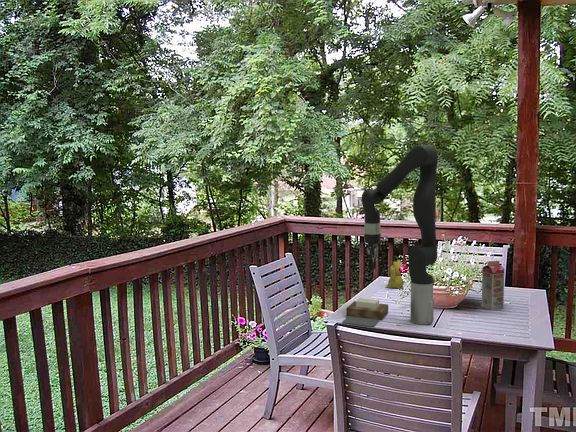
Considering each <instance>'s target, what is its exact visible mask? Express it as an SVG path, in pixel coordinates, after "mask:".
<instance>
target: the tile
mask: <svg viewBox="0 0 576 432" xmlns="http://www.w3.org/2000/svg"><path fill="white" fill-rule="evenodd" d="M355 301H356V307H362V308H371V309H376V308H377V307H378V306H379V304H380V299H374V298H373V299H372V298H364V297H363V298H361V297H360V298H358V299H357V300H355Z"/></svg>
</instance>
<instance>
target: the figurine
mask: <svg viewBox="0 0 576 432" xmlns="http://www.w3.org/2000/svg"><path fill="white" fill-rule="evenodd" d="M392 263H393V264H392V265H391V266H390V268H389V272H390V274H389V276H390V277H389V279H388V281H387V283H388V284H386V288H387V289H388V288H389V289H400V288H402V287H403V286H404V284H405V281H403V279H402V278H401V274H400V272H399V268H400V266H402V265H403V264H402V261H401V260H400V259H397V261H393V262H392Z"/></svg>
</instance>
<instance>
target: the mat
mask: <svg viewBox="0 0 576 432" xmlns="http://www.w3.org/2000/svg"><path fill="white" fill-rule="evenodd" d="M379 321H380V320H379V319H371V318H362V317H353V316H348V317H347V316H346V318H345V319H344V320H342V321H341V324H342V323H343V325H350V326H351V325H352V326H358V327H359V326H360V327H367V328H375V327H376V326H377V324H378V323H379Z"/></svg>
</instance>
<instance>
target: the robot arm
mask: <svg viewBox="0 0 576 432" xmlns="http://www.w3.org/2000/svg"><path fill="white" fill-rule="evenodd" d="M438 154H439V153H438V150H437V148H436V147H435V146H434V145H432V144H416V145H414V146H413V147H412V148H411V149H410V150H409V151H408V152H407V154H406V155H405V156H404V157H403V158H402V160H400V162H399V163H397V165H396V166H395V167H394V168H393V169H392V170H390V172H389V173H387V174H386V175H385V176H384V177H382V178H381V179H380V180H379V181H378V182H377V184H376V187H375V188H372V189H370V188H369V189H365V190H364V191H363V192H362V194H361V205H362V209H363V213H364V226H363V227H364V228H363V243H365V244H367V248H366V250H365V254H366V262H367V263H368V271H371V272H373V271H374V270H375V269H376V268H377V260H378V256H379V249H380V246H377V245H378V244H381V241H382V240H381V239H382V237H381V236H382V235H381V233H382V228H381V212H380V211H379V210H377V209H376V205H379V204H380V203H382V202H383V201H384V200H385V199H387V197H388V195H389V194H390V193H392V192H393V191H395V190H396V189H397V188H398V187H400V185H401V184H402V183H403V181H404V179H406V177H407V176H408V175H409V174H410V173H411V172H412V171H414V170H416V169H418V168H419V181H418V184H417V186H416V188H415V191H414V195H413V199H412V214H413V218H414V219H415V222H416V224H417V226H418V228H419V230H420V235H421V236H420V238H421V239H420V241H421V243H420V244H417V245H413V246H411V247H410V249H409V251H408V256H407V257H408V275H409V277H410V322H411V323H413V324H417V325H432V324H433V322H434V316H435V315H434V312H435V311H434V310H435V309H434V308H435V305H434V304H435V302H434V301H435V300H434V276H433V275H431V274H429V273H428V272H427V267H428V266H432V265H434V264H435V263H436V262H437V259H438V244H437V236H436V235H437V234H436V231H437V230H436V228H437V227H436V209H437V207H436V206H437V204H436V203H437V201H436V198H437V197H436V192H437V191H436V190H437V187H436V186H437V182H436V181H437V170H438V162H439V161H438V160H439V159H438V158H439V155H438Z"/></svg>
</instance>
